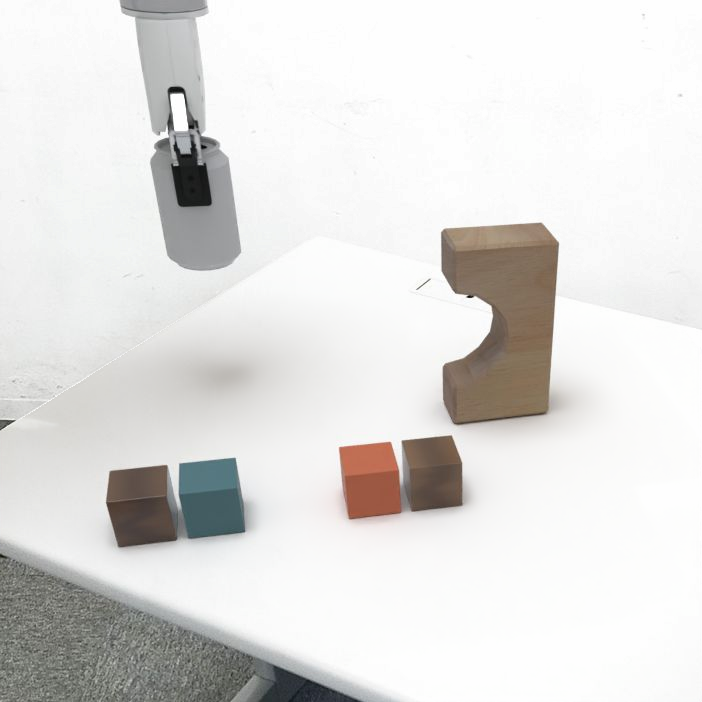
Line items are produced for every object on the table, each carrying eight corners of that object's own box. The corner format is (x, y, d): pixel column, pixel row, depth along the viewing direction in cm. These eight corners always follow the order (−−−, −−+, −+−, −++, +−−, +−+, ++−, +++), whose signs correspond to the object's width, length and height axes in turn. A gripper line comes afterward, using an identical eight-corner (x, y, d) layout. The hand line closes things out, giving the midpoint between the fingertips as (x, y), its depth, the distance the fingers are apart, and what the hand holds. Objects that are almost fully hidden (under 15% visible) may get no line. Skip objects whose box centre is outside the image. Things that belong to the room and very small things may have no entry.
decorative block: (452, 425, 105) (451, 248, 93) (442, 399, 109) (439, 226, 97) (549, 415, 108) (561, 241, 96) (535, 390, 112) (544, 220, 100)
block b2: (188, 538, 88) (178, 494, 85) (188, 506, 91) (179, 463, 88) (245, 531, 89) (237, 487, 86) (243, 500, 93) (235, 457, 90)
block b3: (348, 519, 91) (344, 475, 88) (342, 489, 95) (338, 446, 92) (401, 512, 92) (399, 469, 89) (393, 483, 96) (391, 441, 93)
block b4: (411, 511, 93) (409, 468, 90) (403, 482, 96) (401, 440, 93) (462, 505, 94) (462, 462, 91) (452, 476, 98) (451, 434, 94)
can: (254, 251, 104) (239, 136, 97) (222, 278, 98) (203, 157, 91) (190, 242, 105) (171, 127, 98) (154, 268, 99) (131, 148, 92)
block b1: (118, 547, 86) (105, 502, 83) (121, 514, 90) (109, 470, 87) (176, 540, 87) (166, 495, 84) (177, 508, 91) (167, 464, 88)
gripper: (121, -24, 92) (156, 165, 103) (113, 12, 79) (154, 224, 90) (204, -22, 94) (229, 163, 105) (208, 13, 81) (237, 220, 92)
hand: (194, 190), depth 97 cm, fingers closed on can, 7 cm apart
